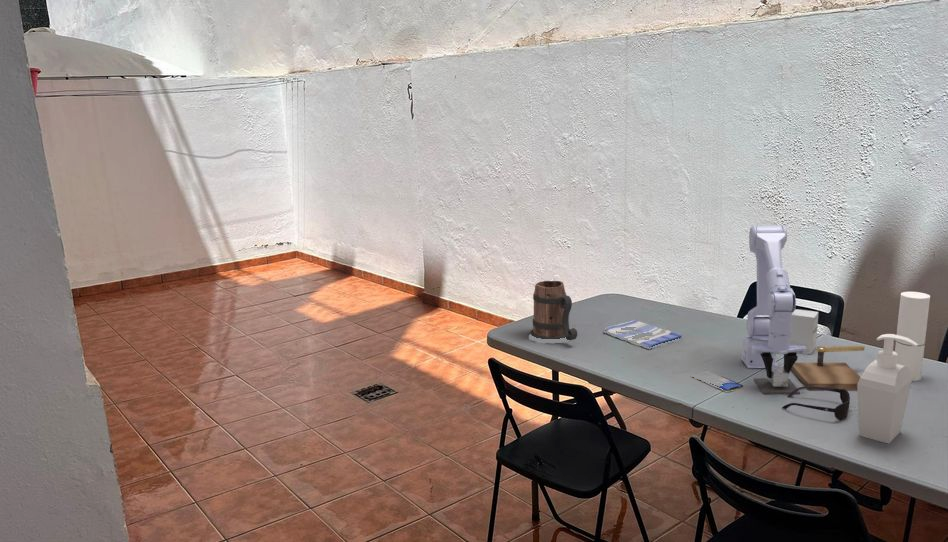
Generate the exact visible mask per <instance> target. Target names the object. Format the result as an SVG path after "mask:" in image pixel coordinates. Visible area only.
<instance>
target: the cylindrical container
mask: <svg viewBox="0 0 948 542" xmlns="http://www.w3.org/2000/svg"><path fill="white" fill-rule="evenodd" d="M930 300H931V295H930V294H928V293H925V292H919V291H902V292H901V293H900V299H899V308H898V317H897V318H898V319H897V328H896V335H899V336H903V337H907V338H909V339H911V340H913V341H914V342H916V343H917V344H918V345H917V346H916V347H914V346H912V345H910V344H908V343H905V342H902V341H897V340H895V346H894V347H895V348H894V352H896V353H897V354H898V356H897V364H899V365H903V366H906V367H908V368H909V370H910V372H911V375H912V382H918V381H921V380H922V374H923V373H922V371H923V365H924V364H923V362H924V354H925V345H926V336H927V326H928V320H929V319H928V318H929V309H930V302H931V301H930ZM917 380H918V381H917Z"/></svg>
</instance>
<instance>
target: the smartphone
mask: <svg viewBox="0 0 948 542" xmlns="http://www.w3.org/2000/svg"><path fill="white" fill-rule="evenodd" d="M722 377H723V378H722V379H719V380H721V381H723V382H725V383H720V384H722V385H723V386H718V385H715V386H717V387H719V388H722V389H723V390H725V391H731V390H736V389H739V390H741V389H740V388H742V389H744V388H743V387H745V386H744V385H743V384H740V383H738V382H736V381H733V380H731V379H730V378H727V377H724V376H722ZM717 383H719V382H717ZM710 384H711V383H710ZM712 385H714V384H712ZM736 391H737V390H736Z"/></svg>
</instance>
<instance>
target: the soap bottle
mask: <svg viewBox="0 0 948 542" xmlns="http://www.w3.org/2000/svg"><path fill="white" fill-rule="evenodd" d="M881 340H884V341H883V349H882V350H878V352H877V358H876V359H874V360H873V361H871V362H870V363H869V364H868V365H867V367H866V368H865V370H864V371H863V373H862V375H861V376H860V380H859V382H858V384H857V390H856V391H857V411H858V414H857V415H858V416H857V417H858V436H860V437H864V438H867V439H870V440H874V441H877V442H881V443H885V444H888V445H890V443H892V441H893V440H894V439H895V438H896V437H897V436H898V434H900V433H901V431H902V430H901V429H902V425H903V420H904V416H905V412H906V409H907V403H908V398H909V394H910V390H911V386H912V382H913V381H912V375H911V372H910V370H909V368H908V367H906V366H903V365H899V364H897V356H898V354H897V353H896V352H895V351H894V343H895V341H896V340H897V341H902V342H905V343H908V344H910V345H912V346H914V347H916V346H917V345H918V344H917V343H916V342H914V341H913V340H911V339H909V338H907V337H903V336H899V335H897V334H894V333H885V334H881V335H879V336H878V337H876V341H881Z"/></svg>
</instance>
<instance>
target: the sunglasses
mask: <svg viewBox="0 0 948 542" xmlns="http://www.w3.org/2000/svg"><path fill="white" fill-rule="evenodd" d="M805 389H806V390H807V389H819V390H818V391H826V392H834V393H838V394H839V397H840V401H841V403H840V404H839V405H837V406H836V407H835V408H833V407H828V406H827V407H826V406H816V405H809V404H803V403H799V402H790V403H787V404H785V405H783V406H782V409H783V410H787V409H788V408H790V407H791V406H792V407H793V406H797V407H802V408H808V409H813V410H817V411H823V412H829V413H834V417H835V419H836V420H838V421H842V420H845V419H846V418H847V417H848V414H849V410H850V403H851V397H850V393H849V390H845V389H836V388H827V387H813V386H799V387H797V389H795V390H794V391H792V392H791V393H790V394H786V395H787V396H786V397H787V398H792V396H794V395H796V394H795V393H796V392H797V391H798V390H799V391H801V390H805Z"/></svg>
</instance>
